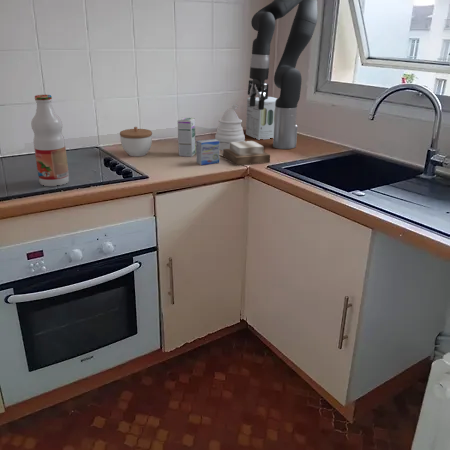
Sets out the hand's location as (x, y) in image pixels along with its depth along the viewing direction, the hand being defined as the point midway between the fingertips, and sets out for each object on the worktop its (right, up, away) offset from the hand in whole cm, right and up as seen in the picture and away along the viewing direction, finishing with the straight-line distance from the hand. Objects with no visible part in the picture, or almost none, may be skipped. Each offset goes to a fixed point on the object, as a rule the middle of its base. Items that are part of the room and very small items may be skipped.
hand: (256, 108), depth 192 cm
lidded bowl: (-49, -20, -3) cm, 53 cm away
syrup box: (-28, -20, -3) cm, 35 cm away
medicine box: (-20, -25, -13) cm, 34 cm away
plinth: (-5, -22, -8) cm, 24 cm away
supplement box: (+6, -6, +31) cm, 32 cm away
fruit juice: (-69, -34, -38) cm, 86 cm away
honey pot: (-11, -15, +10) cm, 21 cm away
